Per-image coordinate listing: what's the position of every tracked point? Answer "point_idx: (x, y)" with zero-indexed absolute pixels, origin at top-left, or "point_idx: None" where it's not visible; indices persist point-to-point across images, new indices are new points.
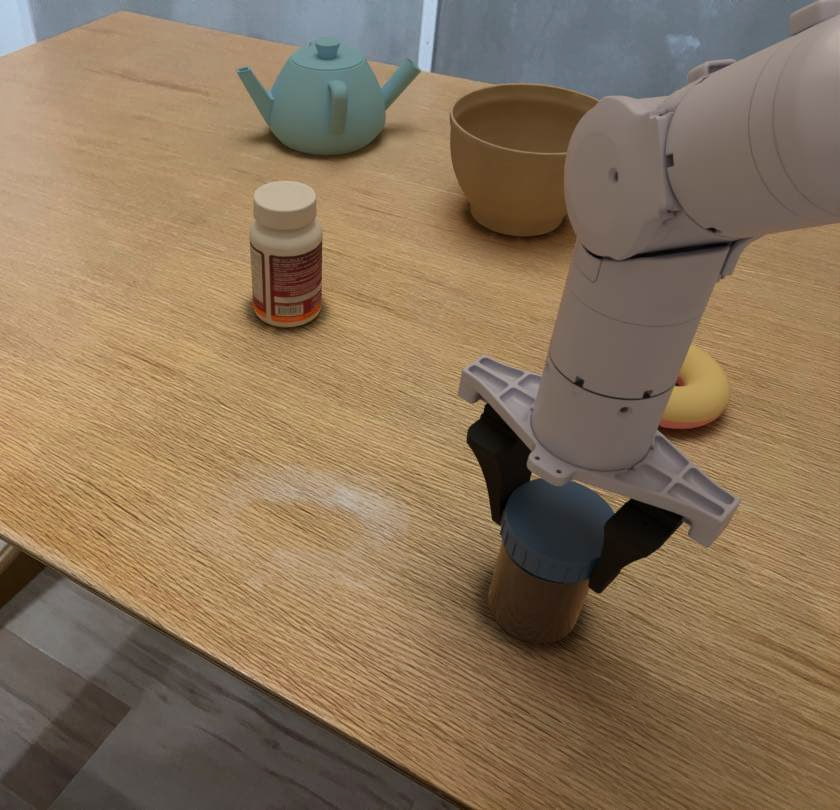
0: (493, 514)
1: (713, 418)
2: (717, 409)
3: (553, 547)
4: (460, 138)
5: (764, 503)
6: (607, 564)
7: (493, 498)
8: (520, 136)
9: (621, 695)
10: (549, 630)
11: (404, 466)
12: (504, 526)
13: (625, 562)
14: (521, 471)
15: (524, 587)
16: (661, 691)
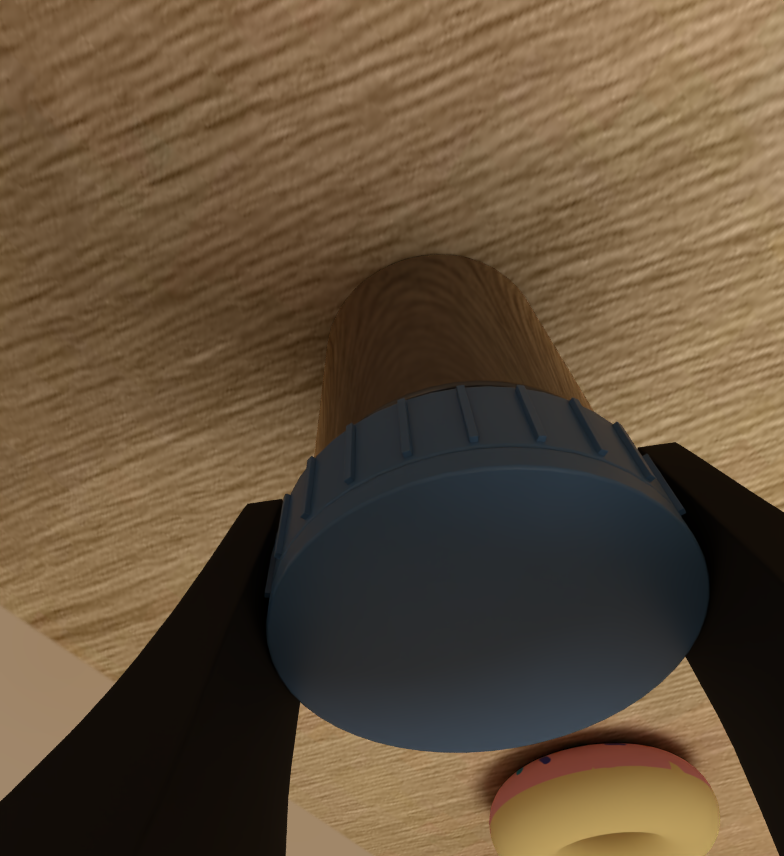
0: (692, 462)
1: (491, 816)
2: (495, 837)
3: (405, 542)
4: None
5: (341, 755)
6: (179, 650)
7: (760, 520)
8: None
9: (151, 354)
10: (336, 334)
11: None
12: (629, 460)
13: (62, 749)
14: (755, 696)
15: (424, 351)
16: (127, 424)
